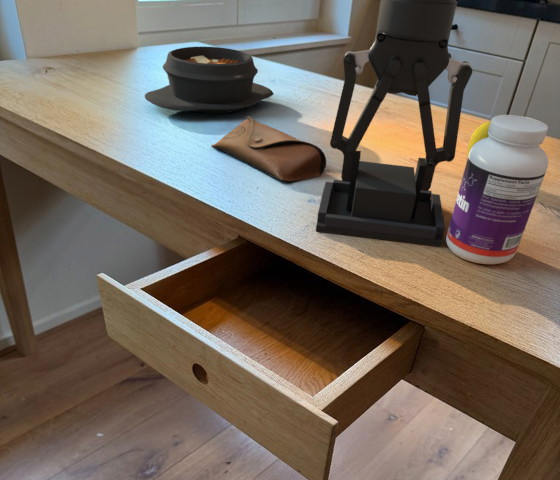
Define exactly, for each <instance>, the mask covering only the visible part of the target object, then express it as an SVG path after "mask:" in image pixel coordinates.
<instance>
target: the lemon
mask: <svg viewBox="0 0 560 480" xmlns="http://www.w3.org/2000/svg"><path fill="white" fill-rule="evenodd" d="M490 123H491V120H489V121H485V122H484V123H482V124H480V125H479V126H478V127H477V128H476V129H475V130H474V132H473V134H472V135H471V137H470V139H469V142H468V145H467V153H466V156H467V157H466V158H467V159H468V156H469V152H470V150H471V148H472V146H473V145H474V144H475V143H476V142H478V141H480V140H482V139H484V138H488V137H489V135H488V130H489V126H490Z"/></svg>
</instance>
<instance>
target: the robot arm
mask: <svg viewBox="0 0 560 480" xmlns="http://www.w3.org/2000/svg"><path fill="white" fill-rule="evenodd" d="M457 5H458V0H380V5H379V11H378V12H379V13H378V17H377V23H376V31H375V37H374V39H373V42H372V44H371V45H370V46H369V49H365V50H364V49H363V50H359V51H355V50H353V49H348V50H347V51H346V52H345V54H344V56H343V71H344V81H343V86H342V90H341V94H340V99H339V103H338V107H337V112H336V114H335V115H336V116H335V120H334V125H333V129H332V134H331V137H330V140H329V141H330V142H329V146H330V148H331V149H334V150H339V151H340V152H341V153H342V154H343V160H342V167H341V175H340V178H341V180H342V181H345V182H350V186H349V193H348V200H347V207H346V211H352V206H353V200H354V193H355V187H356V180H357V175H358V169H359V162H360V161H361V155H362V150H357V149H358V147H359V145H360V144H361V143H362V140H363V138H364V136H365V134H366V132H367V131H368V129H369V126H370V125H371V123H372V121H373V119H374V117H375V116H376V114H377V112H378V110H379V108H380V106H381V105H382V103H383V101H384V100H385V98H386V96H387V94H394V95H395V94H396V95H397V94H402V93H403V94H405V95H407V96H411V97H413V96H414V97H416V96H417V102H418V109H419V114H420V115H419V116H420V117H419V118H420V123H421V130H422V138H423V144H424V145H423V146H424V153H425V157H418V160H417V163H416V168H415V171H414V173H415V185H416V199H415V204H414V208H413V213H412V217H411V219H414V217H415V213H416V208H417V204H418V200H419V195H420V191H421V190H423V191H430V189H431V187H432V184H433V183H432V182H433V178H434V175H435V170H436V167H437V166H438V165H439V164H440V163H443V162H453V160H454V159H455V158H456V149H457V143H458V137H459V127H460V121H461V113H462V107H463V98H464V91H465V89H466V86H467V85H468V83H469V81H470V79H471V76H472V75H473V68H472V66H471V64H470V63H469V62H468V61H467V60H465V61H459V60H457V59H455V58H452V57H450V53H449V40H450V36H451V33H452V32H451V31H452V28H453V23H454V19H455V13H456V10H457ZM367 63H370V65H371V67H372V69H373V72H374V74H375V76H376V78H377V81H376V83H375V85H374V87H373V89H372V92H371V94H370V96H369V98H368V99H367V102H366V103H365V105H364V107H363V109H362V111H361V113H360V115H359V117H358V118H357V121H356V123H355V125H354V127H353V129H352V131H351V133H350V135H349V136H348V137H346V136H345V135H344V131H345V128H346V123H347V119H348V115H349V111H350V108H351V107H350V106H351V103H352V98H353V95H354V91H355V86H356V81H357V75H360V74H362V73H363V72H364V68H365V65H366V64H367ZM445 70H446V71H447V73H448V74H447V80H448V83H449V84H450V87H449V94H448V100H447V109H446V111H447V112H446V116H445V117H446V118H445V125H444V134H443V143H442V146H441V147H437V145H436V137H435V136H436V135H435V129H434V121H433V114H432V105H431V97H430V89H429V87H430V86H431V85H432V84H433V83H434V82H435V80H436V79H437V78H438V77H440V75H441V74H442V73H443V72H444V71H445Z"/></svg>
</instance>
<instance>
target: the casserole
mask: <svg viewBox="0 0 560 480" xmlns="http://www.w3.org/2000/svg"><path fill="white" fill-rule="evenodd" d="M253 58H254V57H252V55H250V54H249V53H247V52H245V51H240V50H237V49H233V48H228V47H219V46H218V47H217V46H186V47H180V48H175V49H173V50H170V51H169V52H168V53H167V56H166V60H165V62H164V64H163V65H162V69H163V71H164V72H165V73H166V75H167V80H168V85H165V86H163V87H161V88H157V89H155V90H151V91H148V92H146V93H145V94H144V99H145V100H146V101H147V102H149V103H150V104H152V105H155V106H157V107H159V108H162V109H166V110H172V111H177V112H178V111H180V112H181V111H183V112H184V111H193V112H198V113H202V114H203V113H204V114H226V113H227V114H228V113H232V112H235V111H240V110H241V109H244V108H248V107H251V106H254V105H255V104H258V103H260V102H261V101H262V100H266V99H269V98H271V97H273V96H274V92H273V91H272V90H271V88H269V87H267V86H265V85H262V84H259V83H256V82H254V80H255V76H256V75H257V74H258V72H259V70H258V68H257V67H256V66H255V62H254V59H253Z"/></svg>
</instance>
